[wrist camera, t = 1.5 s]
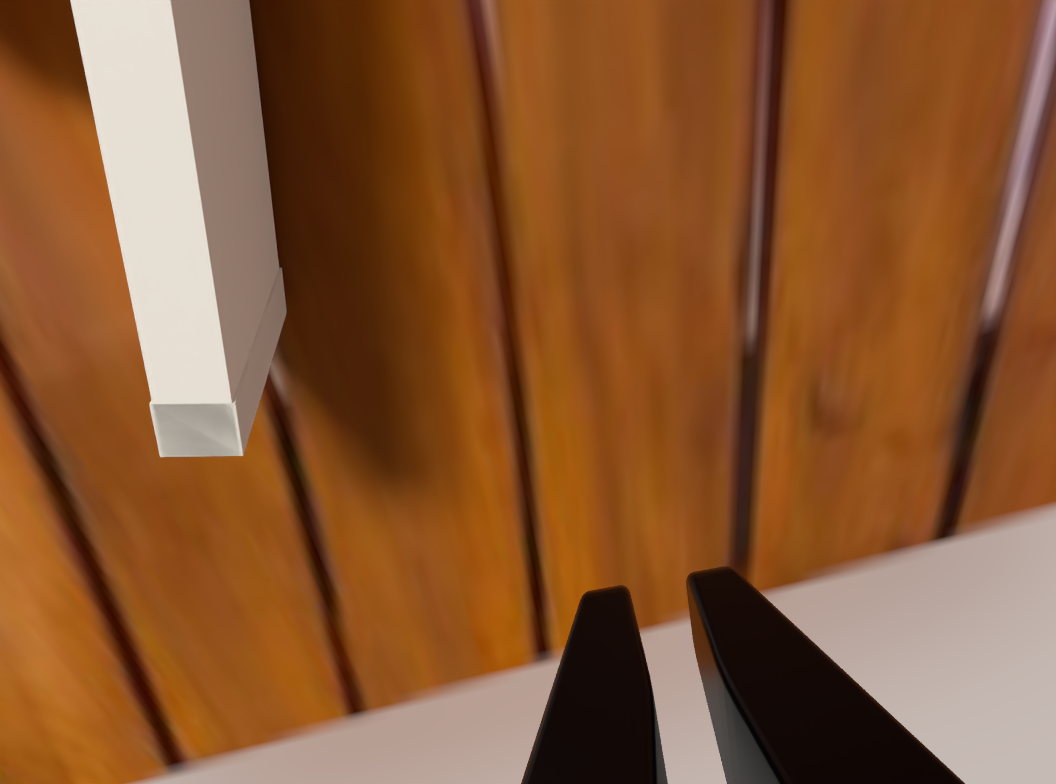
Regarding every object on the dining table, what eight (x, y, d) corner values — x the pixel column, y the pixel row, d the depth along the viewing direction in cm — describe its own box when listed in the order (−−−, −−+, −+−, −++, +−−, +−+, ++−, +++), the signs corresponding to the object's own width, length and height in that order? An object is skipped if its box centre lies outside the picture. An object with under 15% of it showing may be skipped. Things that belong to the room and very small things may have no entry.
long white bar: (104, -463, 13) (-53, -575, 9) (201, -457, 14) (89, -565, 9) (221, 312, 20) (160, 457, 16) (286, 312, 20) (242, 456, 16)
